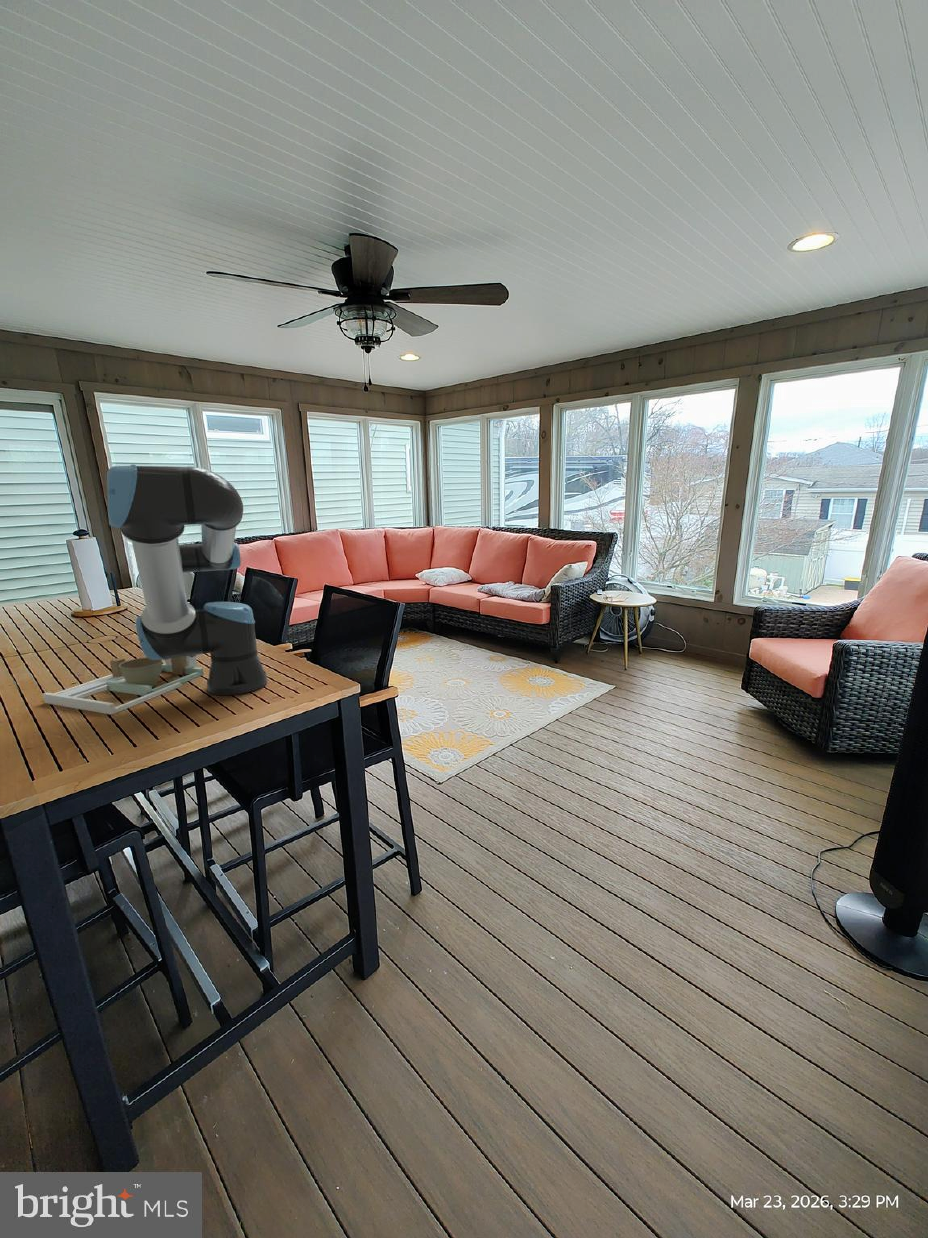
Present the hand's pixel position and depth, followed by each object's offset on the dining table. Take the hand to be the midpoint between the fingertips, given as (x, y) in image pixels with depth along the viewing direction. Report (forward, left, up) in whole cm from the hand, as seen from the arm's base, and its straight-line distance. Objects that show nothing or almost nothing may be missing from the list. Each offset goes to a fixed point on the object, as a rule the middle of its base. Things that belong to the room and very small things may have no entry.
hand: (181, 665), depth 151 cm
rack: (+4, +18, -2) cm, 19 cm away
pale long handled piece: (+12, +18, -2) cm, 22 cm away
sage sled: (0, +9, -2) cm, 9 cm away
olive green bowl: (0, +13, -2) cm, 13 cm away
